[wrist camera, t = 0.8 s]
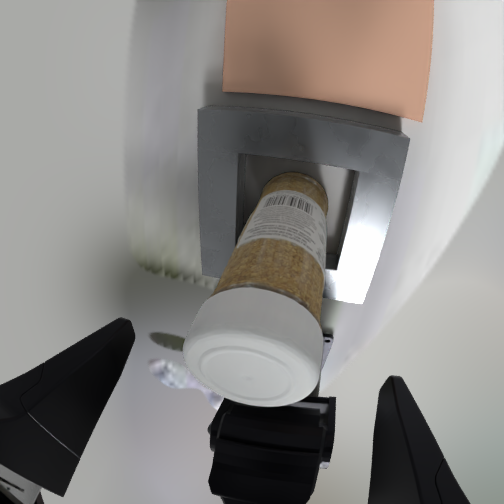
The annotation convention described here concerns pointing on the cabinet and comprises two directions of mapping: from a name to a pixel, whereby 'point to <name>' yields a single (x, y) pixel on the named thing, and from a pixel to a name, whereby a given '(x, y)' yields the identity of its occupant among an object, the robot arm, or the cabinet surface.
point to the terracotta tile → (332, 51)
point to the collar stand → (309, 150)
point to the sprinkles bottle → (267, 302)
